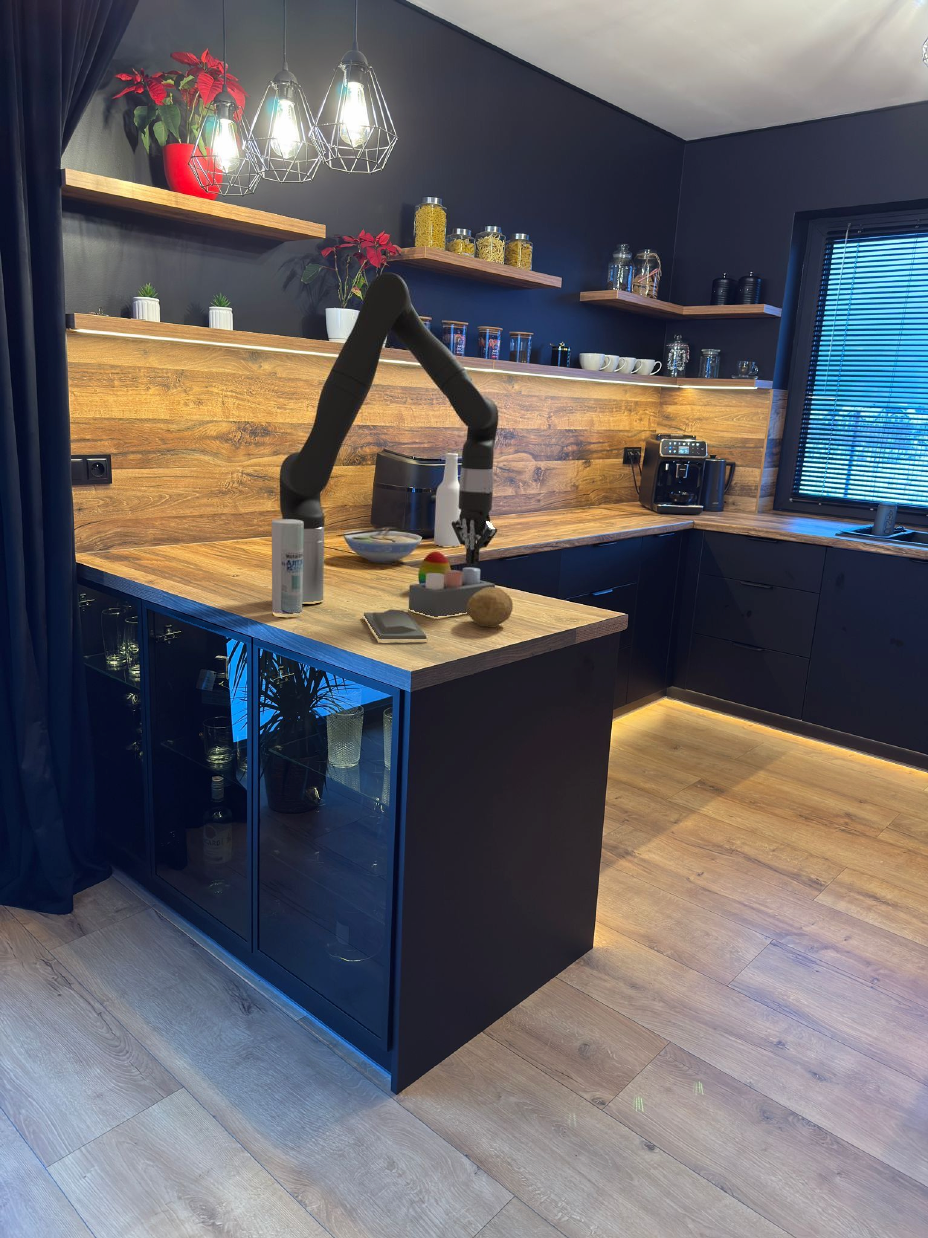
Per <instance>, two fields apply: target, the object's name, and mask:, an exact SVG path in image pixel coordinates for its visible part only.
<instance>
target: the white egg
mask: <svg viewBox="0 0 928 1238" xmlns="http://www.w3.org/2000/svg"><path fill="white" fill-rule="evenodd" d="M426 588H428V589H432V590H438V589H444V574H440V573H428V574H426Z"/></svg>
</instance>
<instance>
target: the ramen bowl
mask: <svg viewBox="0 0 928 1238" xmlns="http://www.w3.org/2000/svg"><path fill="white" fill-rule="evenodd" d="M397 530H398V528H397V527H396V526H395V527H393V526H387V527H380V528H375V529H369V530H368V529H367V530H354V531H349V532H345V533H343V534H336V535H335V537H343V539H344V542H346V544H347V545H348V547H349V548H350V549H351V551H352V552H354V553H355V554H356V555H358V556H359V557H361V558H363V559H366V560H368V561H369V562H372V563H376V564H392V563H394V562H396V561H398V560H402V559H404V558H407V557H408V556H409V555H411V554H412V553H413V552H414V551H415V550H416V548H417V547H418V546H419V544H420V542H421V540H423V539H422V538H423V537H422V536H420V535H418V534H415V533H410V532H403V531H397Z"/></svg>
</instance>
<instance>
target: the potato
mask: <svg viewBox="0 0 928 1238" xmlns="http://www.w3.org/2000/svg"><path fill="white" fill-rule="evenodd" d="M513 605H514V604H513V600H512V597H511V596H510V595H509V594H508V592H506V591H504V590H503V589H502V588H499V587H496V586H495V587H487V588H484V589H482V590H480V591H478V592H477V593H475V594H474V595H473V596H472V597H471V598H470V599H469V601H468V603H467V605H466V608H467V613H468V614H467V615H468V616H469V617H470V619H471V620H472V621H473V622H474V623H477V624H479V625H480V626H482V627H494V626H495V627H498V626H500V625H501V624H502V623H505V622H506V621H507V620H509V618H510V616H511V615H512V611H513V608H514V607H513ZM499 624H500V625H499ZM497 625H498V626H497Z"/></svg>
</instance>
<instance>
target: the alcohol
mask: <svg viewBox="0 0 928 1238" xmlns="http://www.w3.org/2000/svg"><path fill="white" fill-rule="evenodd" d="M458 455H459V454H458V453H455V452H452V453H451V452H447V453H445V464H444V472H443V480H442V482H440V484H439V485H438V486H437V489H436V493H435V494H436V495H435V514H434V515H435V516H434V517H435V519H434V534H433V535H434V539H433V542H434V545H435V546H436V545H440V546H459V545H460V546H461V544H460V543H459V540H458V538H457V536H456V534H455V531H454V529H453V527H452V522H453V521H457V520H458V519H459V515H460V512H461V510H460V509H459V507H458V505H459V484H460V481H459V478H458V477H459V475H458V474H459V473H458V472H459V471H458V459H459V458H458ZM460 546H459V547H460Z"/></svg>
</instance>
